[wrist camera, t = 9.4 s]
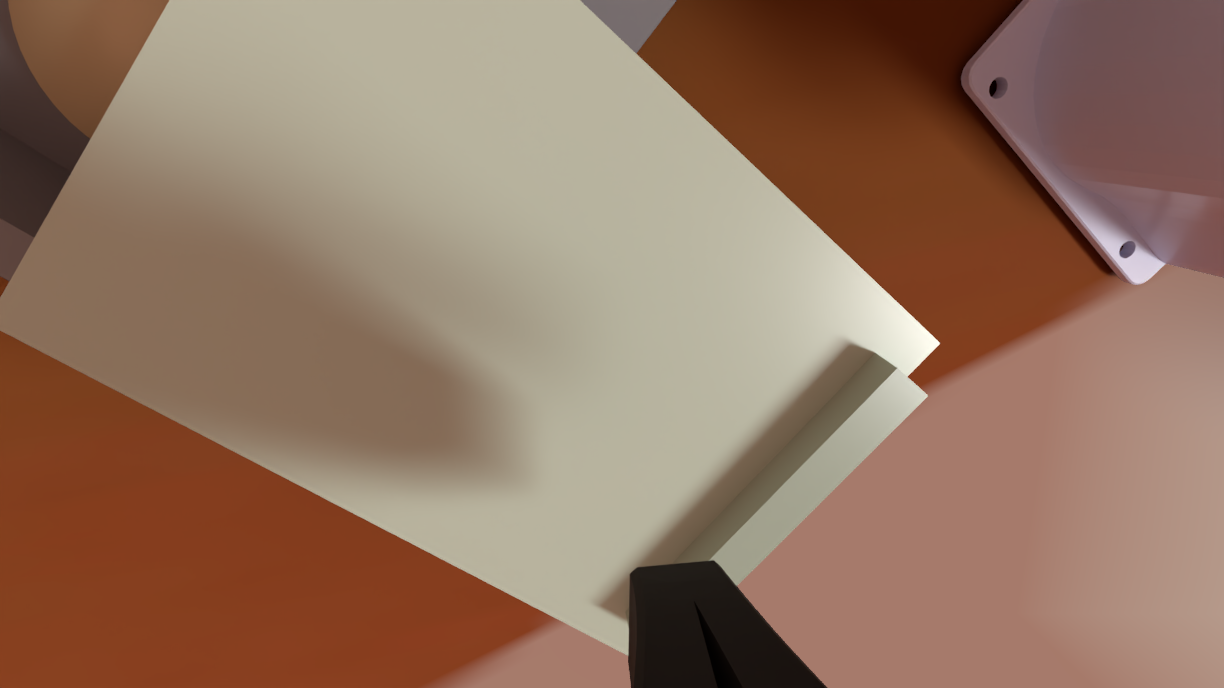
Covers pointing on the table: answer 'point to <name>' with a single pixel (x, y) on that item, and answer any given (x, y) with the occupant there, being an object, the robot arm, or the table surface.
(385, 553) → the table surface
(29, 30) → the housing
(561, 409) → the lid
